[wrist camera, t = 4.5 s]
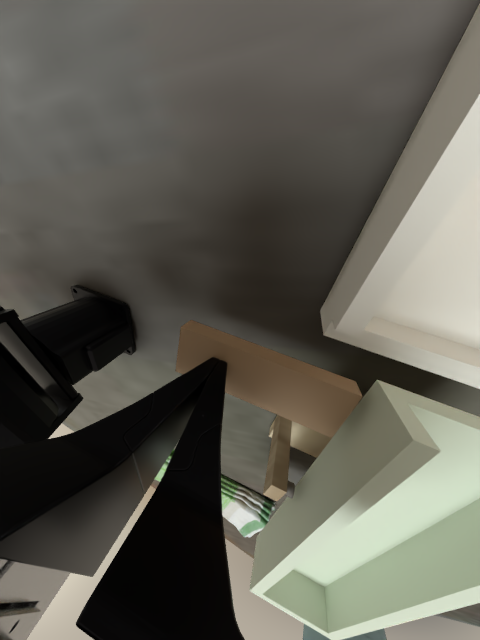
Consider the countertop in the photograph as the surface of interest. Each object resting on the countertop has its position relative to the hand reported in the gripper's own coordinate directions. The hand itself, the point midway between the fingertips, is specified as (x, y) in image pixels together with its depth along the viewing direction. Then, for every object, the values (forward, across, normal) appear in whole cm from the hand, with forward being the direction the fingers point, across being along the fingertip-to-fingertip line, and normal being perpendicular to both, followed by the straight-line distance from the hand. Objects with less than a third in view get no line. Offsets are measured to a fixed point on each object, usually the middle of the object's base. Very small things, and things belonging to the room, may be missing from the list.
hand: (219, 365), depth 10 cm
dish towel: (+6, -1, +38) cm, 39 cm away
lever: (0, -6, +8) cm, 10 cm away
